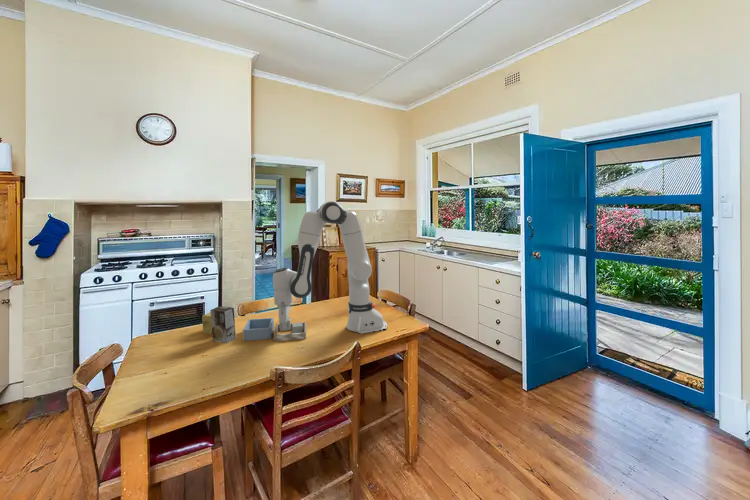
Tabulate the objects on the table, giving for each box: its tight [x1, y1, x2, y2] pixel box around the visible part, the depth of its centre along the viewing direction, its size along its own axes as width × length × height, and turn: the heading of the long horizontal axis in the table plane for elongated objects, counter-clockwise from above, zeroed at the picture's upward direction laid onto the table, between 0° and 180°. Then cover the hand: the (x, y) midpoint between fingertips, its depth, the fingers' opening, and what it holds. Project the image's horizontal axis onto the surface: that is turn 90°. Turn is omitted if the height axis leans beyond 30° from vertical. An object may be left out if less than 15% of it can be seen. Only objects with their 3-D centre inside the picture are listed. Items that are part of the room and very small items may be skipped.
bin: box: [242, 317, 275, 341], centre depth 167 cm, size 13×15×6 cm
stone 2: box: [291, 322, 304, 333], centre depth 167 cm, size 5×5×5 cm
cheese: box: [201, 311, 213, 335], centre depth 170 cm, size 10×11×10 cm
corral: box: [273, 322, 307, 342], centre depth 167 cm, size 16×15×3 cm
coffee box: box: [209, 305, 237, 344], centre depth 159 cm, size 9×6×16 cm
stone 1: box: [278, 316, 291, 332], centre depth 166 cm, size 5×5×5 cm
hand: (285, 325), depth 166 cm, fingers closed on stone 1, 5 cm apart
